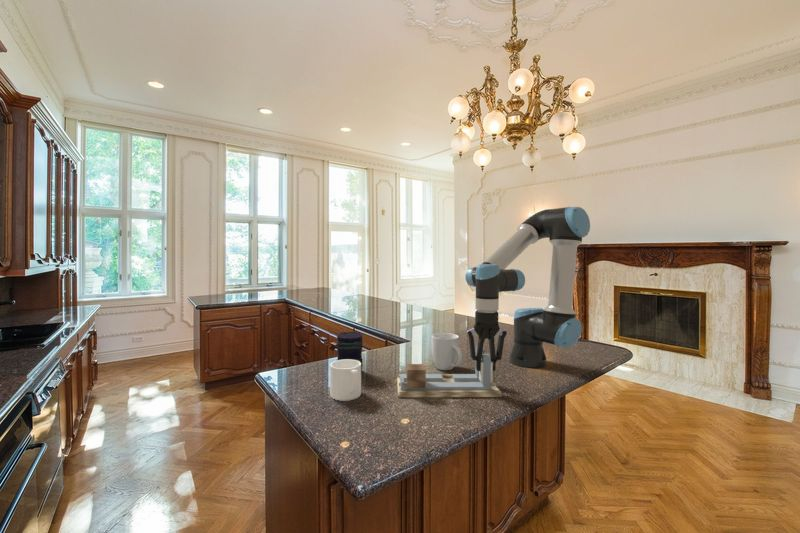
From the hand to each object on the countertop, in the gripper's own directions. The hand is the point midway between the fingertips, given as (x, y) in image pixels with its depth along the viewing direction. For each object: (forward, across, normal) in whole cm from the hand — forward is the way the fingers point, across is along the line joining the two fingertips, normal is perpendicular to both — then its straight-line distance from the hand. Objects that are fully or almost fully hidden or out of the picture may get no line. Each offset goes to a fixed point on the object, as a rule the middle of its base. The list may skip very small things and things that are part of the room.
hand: (485, 380), depth 118 cm
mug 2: (+4, +10, -24) cm, 26 cm away
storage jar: (+4, +48, -19) cm, 51 cm away
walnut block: (+2, +24, 0) cm, 24 cm away
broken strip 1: (+3, +21, -8) cm, 23 cm away
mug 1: (+4, +46, +3) cm, 46 cm away
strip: (+3, +14, 0) cm, 14 cm away
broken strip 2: (+3, +4, -8) cm, 9 cm away
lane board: (+4, +12, -4) cm, 14 cm away
